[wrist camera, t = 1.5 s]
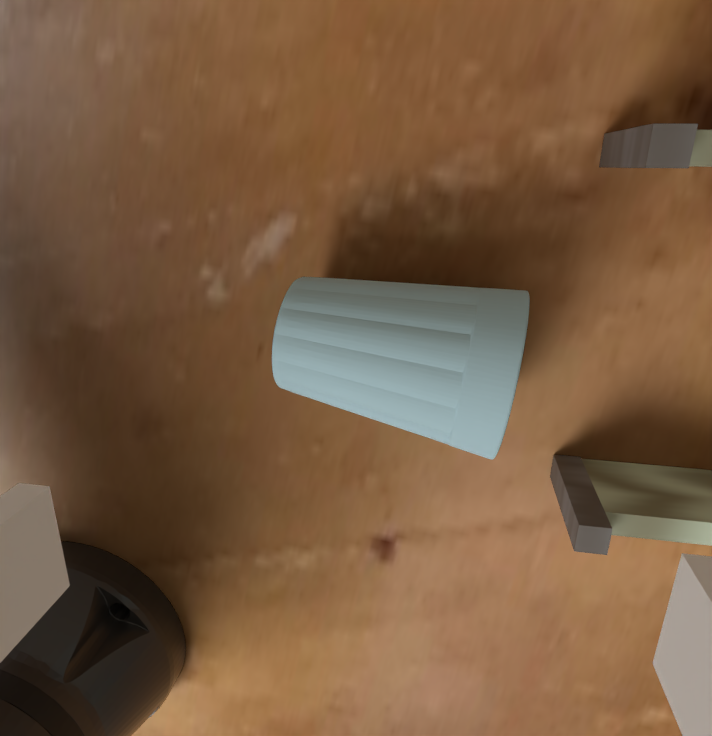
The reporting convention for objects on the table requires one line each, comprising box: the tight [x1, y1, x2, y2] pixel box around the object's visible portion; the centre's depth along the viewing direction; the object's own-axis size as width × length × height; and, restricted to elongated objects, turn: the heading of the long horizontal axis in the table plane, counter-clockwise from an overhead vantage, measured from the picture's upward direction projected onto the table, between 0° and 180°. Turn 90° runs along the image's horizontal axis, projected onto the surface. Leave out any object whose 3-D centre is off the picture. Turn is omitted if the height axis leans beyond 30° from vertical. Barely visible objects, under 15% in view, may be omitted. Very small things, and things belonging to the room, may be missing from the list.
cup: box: [272, 277, 530, 459], centre depth 26 cm, size 8×8×10 cm
